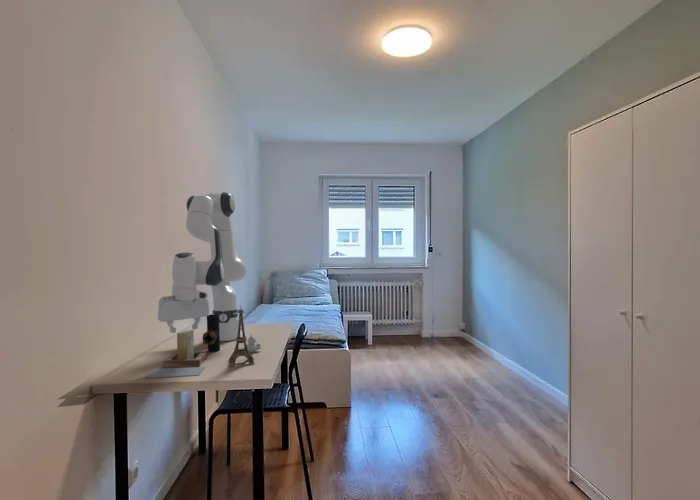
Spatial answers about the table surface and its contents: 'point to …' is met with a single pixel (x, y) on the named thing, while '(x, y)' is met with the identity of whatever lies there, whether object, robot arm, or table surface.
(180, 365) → the walnut socket
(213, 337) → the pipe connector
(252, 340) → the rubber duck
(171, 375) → the grey mat
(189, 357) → the skincare box
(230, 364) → the eiffel tower
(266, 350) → the table surface
